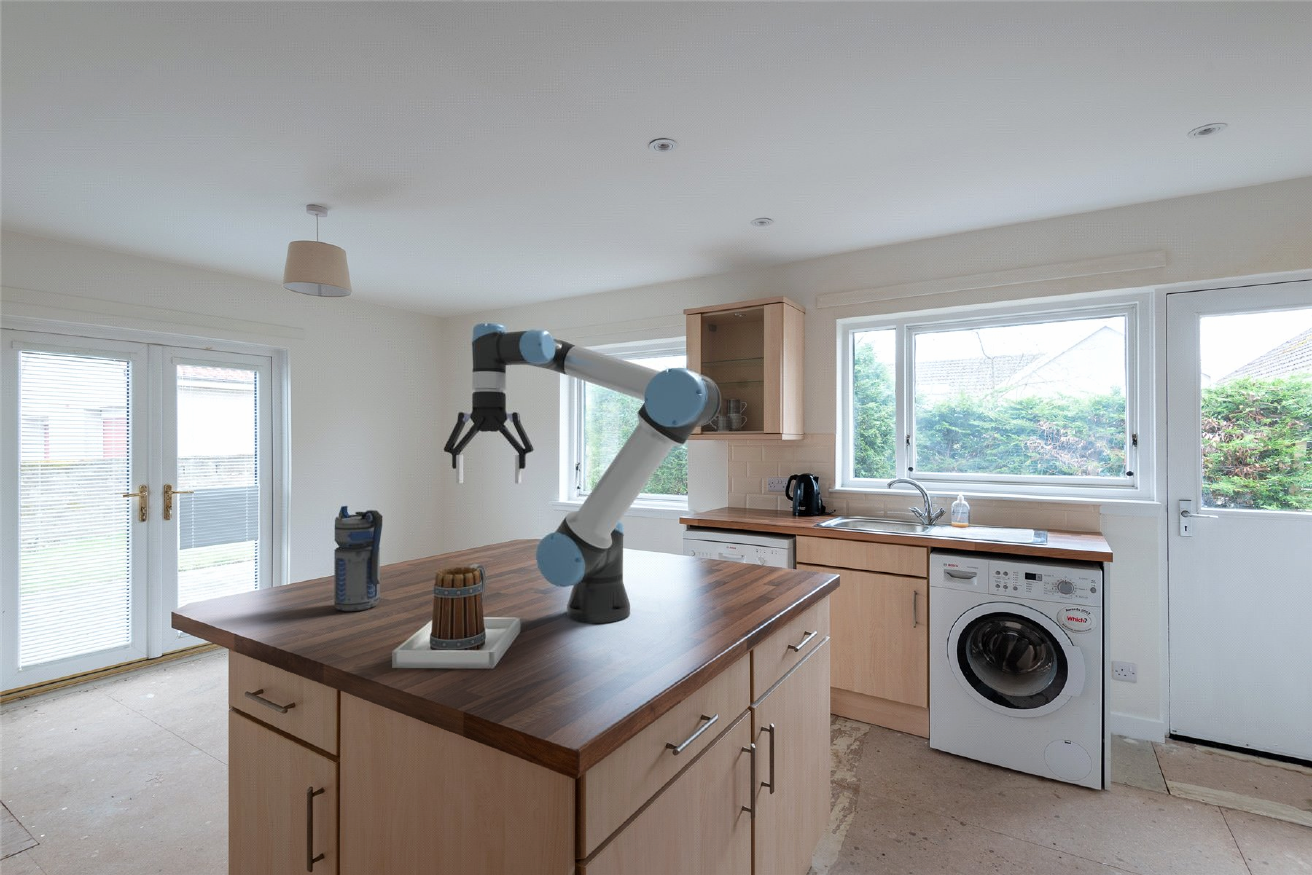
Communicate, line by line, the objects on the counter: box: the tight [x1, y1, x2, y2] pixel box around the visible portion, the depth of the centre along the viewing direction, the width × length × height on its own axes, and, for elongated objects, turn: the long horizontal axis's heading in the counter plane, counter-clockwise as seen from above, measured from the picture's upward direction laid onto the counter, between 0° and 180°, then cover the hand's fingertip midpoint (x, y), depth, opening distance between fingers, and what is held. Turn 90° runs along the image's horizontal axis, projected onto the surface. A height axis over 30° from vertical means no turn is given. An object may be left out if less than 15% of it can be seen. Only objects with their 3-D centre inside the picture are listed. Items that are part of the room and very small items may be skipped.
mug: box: [430, 563, 487, 650], centre depth 123 cm, size 16×11×15 cm
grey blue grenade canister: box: [333, 505, 383, 612], centre depth 153 cm, size 10×13×25 cm
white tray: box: [391, 616, 522, 669], centre depth 123 cm, size 19×22×3 cm
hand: (488, 483), depth 142 cm, fingers open, 13 cm apart
